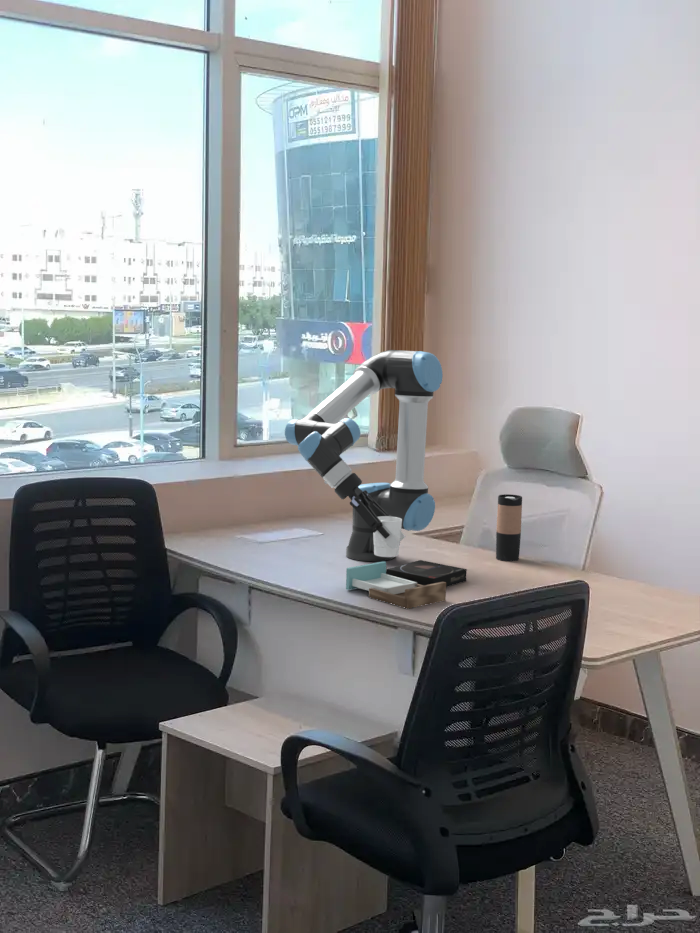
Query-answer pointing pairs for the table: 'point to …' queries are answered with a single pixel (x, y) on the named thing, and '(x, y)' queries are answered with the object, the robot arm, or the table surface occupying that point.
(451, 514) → the table surface
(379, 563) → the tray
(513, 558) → the travel mug
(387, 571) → the portable cd player
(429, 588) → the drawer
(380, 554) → the white cup
